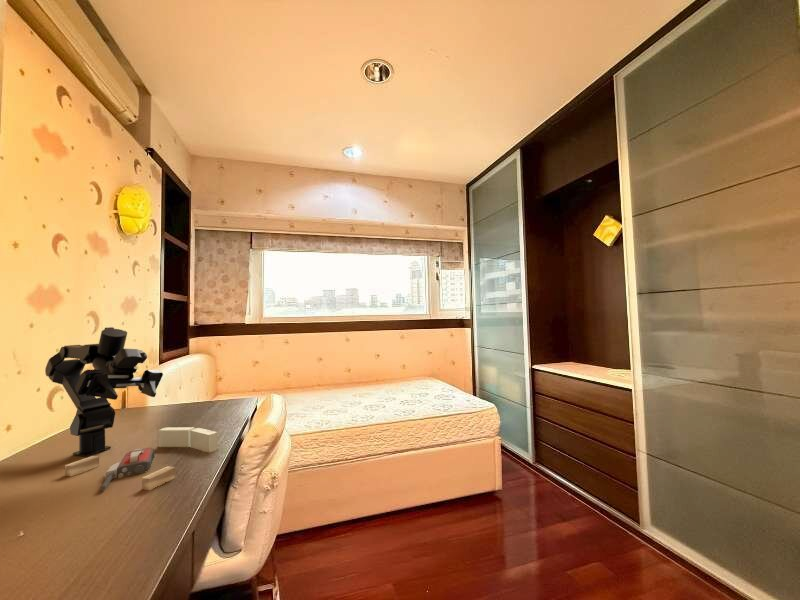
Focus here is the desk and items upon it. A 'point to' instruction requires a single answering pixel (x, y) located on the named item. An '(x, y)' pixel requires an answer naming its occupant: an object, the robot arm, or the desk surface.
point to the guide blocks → (147, 481)
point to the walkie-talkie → (130, 465)
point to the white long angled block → (188, 438)
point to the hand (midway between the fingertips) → (136, 396)
